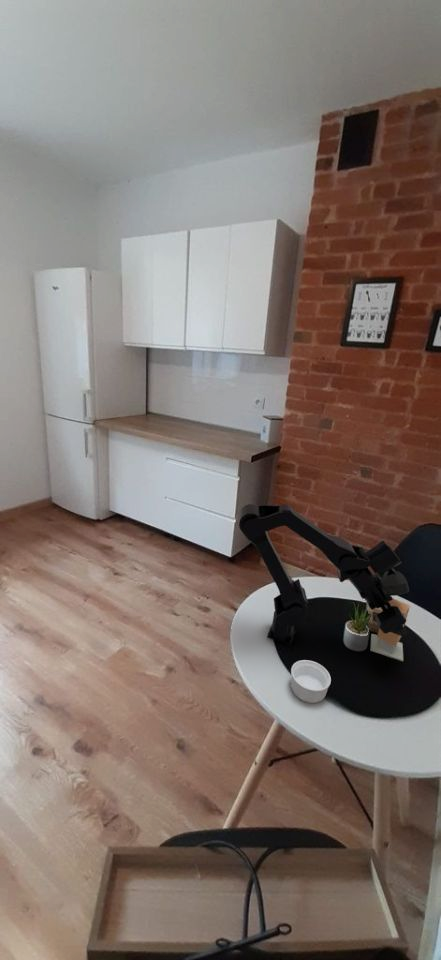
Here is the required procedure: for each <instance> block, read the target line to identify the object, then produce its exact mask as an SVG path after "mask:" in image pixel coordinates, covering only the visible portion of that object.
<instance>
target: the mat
mask: <svg viewBox="0 0 441 960" xmlns="http://www.w3.org/2000/svg"><path fill="white" fill-rule="evenodd" d="M377 635H378V634H374V633H371V636H370V652H374V653H377V654H380V655H383V656H386V657H388V658H391V659H395V660H398V661H400V662H404V648H403V642H400V641H398V643H397V646H396V648H395V649H394V651H393V653H392V654H391V653H389V652H387V651H385V650H383V649H381V648H380V647H378V646H377V643H378V639H379V638H378V637H377Z"/></svg>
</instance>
